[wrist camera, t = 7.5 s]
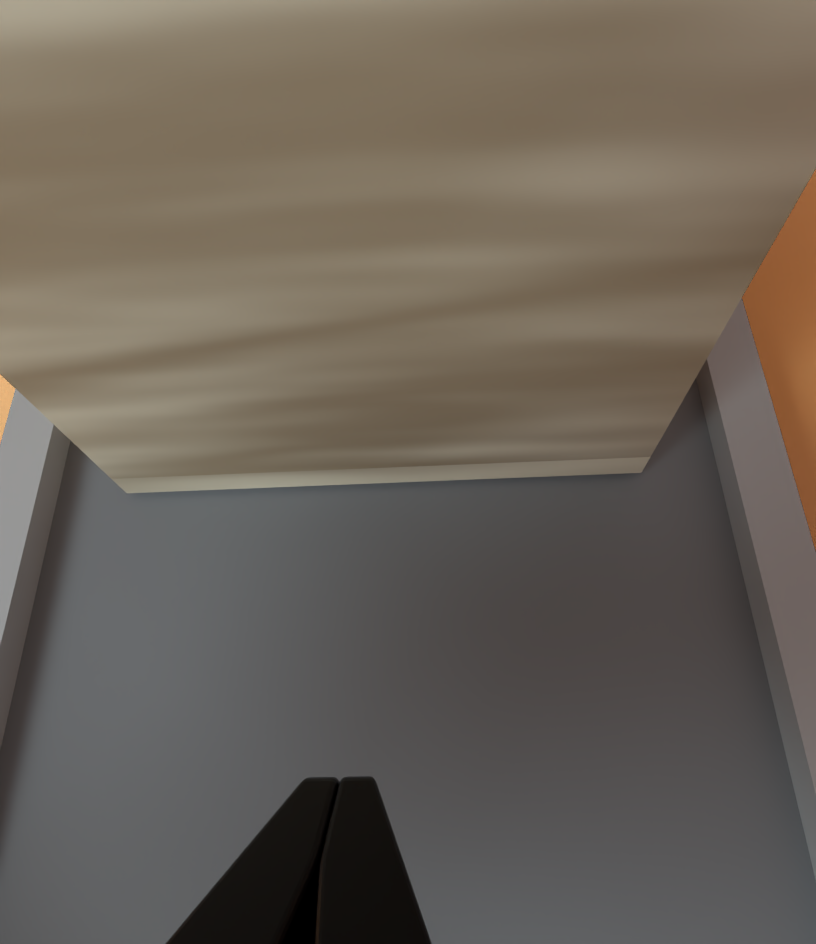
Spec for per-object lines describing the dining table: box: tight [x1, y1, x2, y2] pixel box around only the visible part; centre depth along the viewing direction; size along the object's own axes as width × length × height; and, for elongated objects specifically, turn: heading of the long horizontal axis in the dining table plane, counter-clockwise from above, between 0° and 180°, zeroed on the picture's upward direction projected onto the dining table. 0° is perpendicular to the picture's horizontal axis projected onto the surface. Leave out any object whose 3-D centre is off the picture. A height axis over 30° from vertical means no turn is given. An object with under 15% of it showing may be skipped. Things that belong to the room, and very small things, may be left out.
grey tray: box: [0, 298, 816, 944], centre depth 14 cm, size 22×18×7 cm
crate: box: [0, 0, 816, 493], centre depth 13 cm, size 9×12×11 cm
